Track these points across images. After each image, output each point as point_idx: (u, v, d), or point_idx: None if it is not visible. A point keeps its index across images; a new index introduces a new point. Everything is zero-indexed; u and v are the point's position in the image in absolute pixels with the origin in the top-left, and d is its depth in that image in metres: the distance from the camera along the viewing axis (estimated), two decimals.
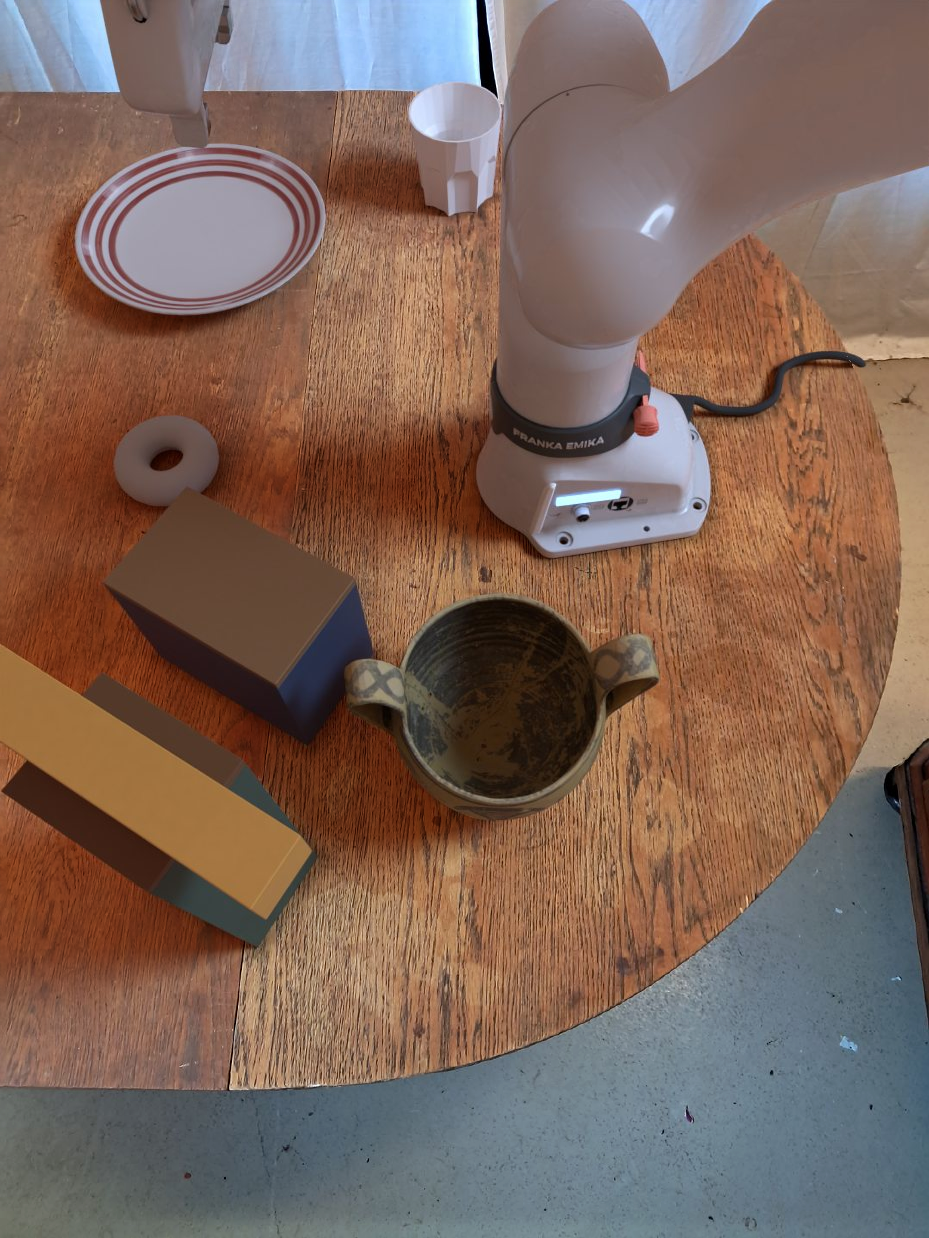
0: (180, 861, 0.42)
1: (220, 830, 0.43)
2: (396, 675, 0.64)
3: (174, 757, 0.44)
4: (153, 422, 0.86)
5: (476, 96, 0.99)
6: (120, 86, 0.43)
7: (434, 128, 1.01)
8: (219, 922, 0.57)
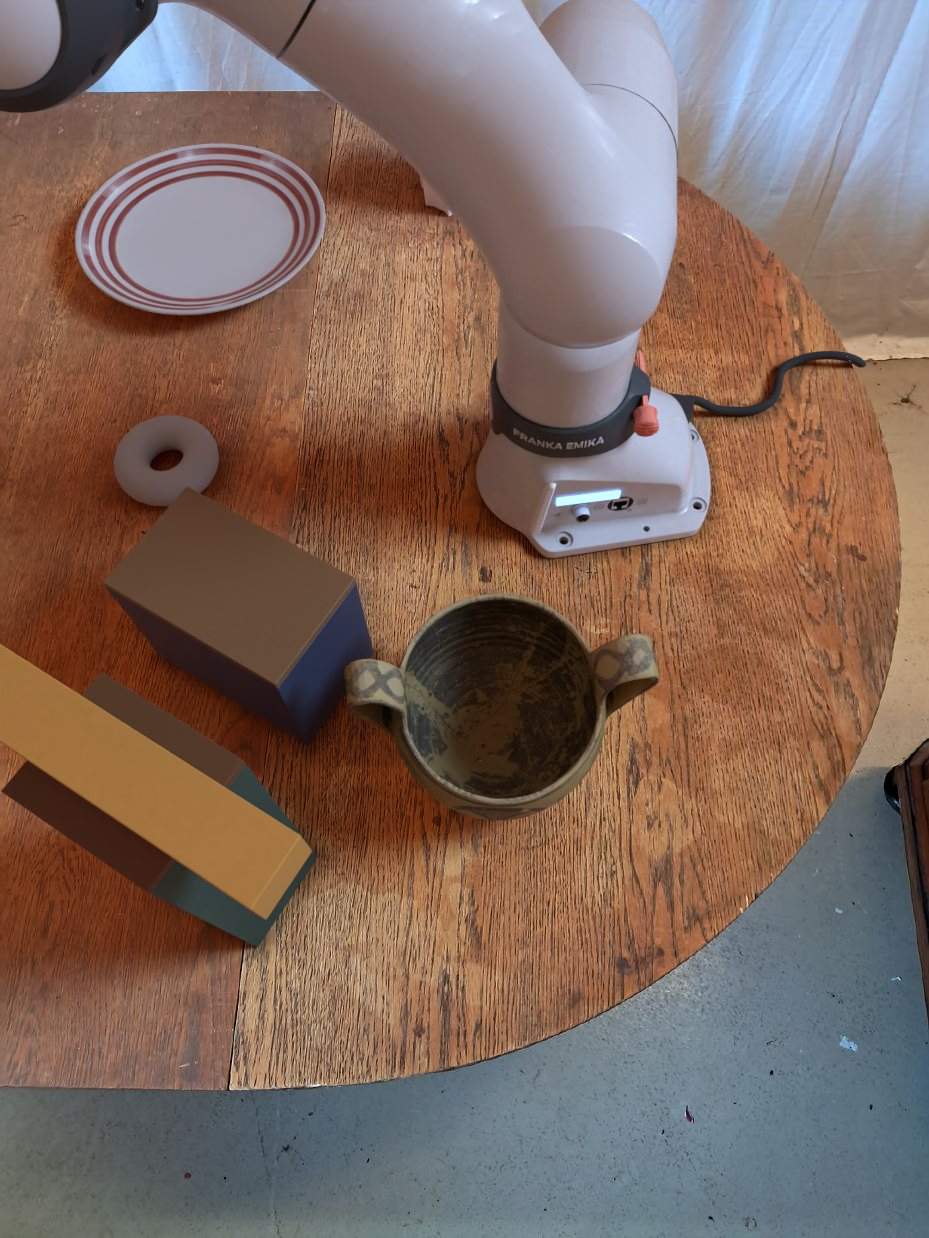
0: (180, 861, 0.42)
1: (220, 830, 0.43)
2: (396, 675, 0.64)
3: (174, 757, 0.44)
4: (153, 422, 0.86)
5: None
6: None
7: None
8: (219, 922, 0.57)
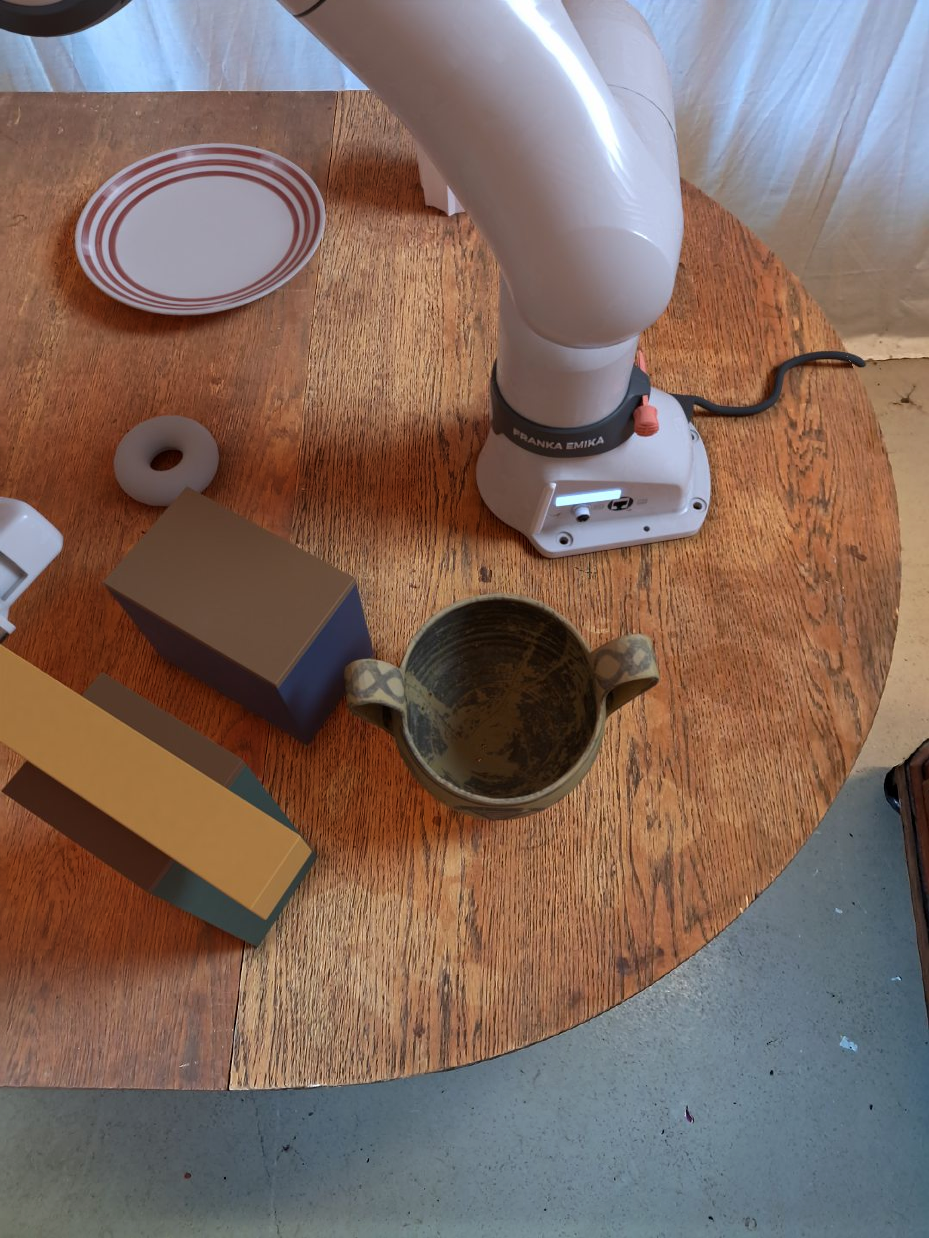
0: (180, 861, 0.42)
1: (220, 831, 0.43)
2: (396, 675, 0.64)
3: (174, 757, 0.44)
4: (153, 422, 0.86)
5: None
6: None
7: None
8: (219, 922, 0.57)
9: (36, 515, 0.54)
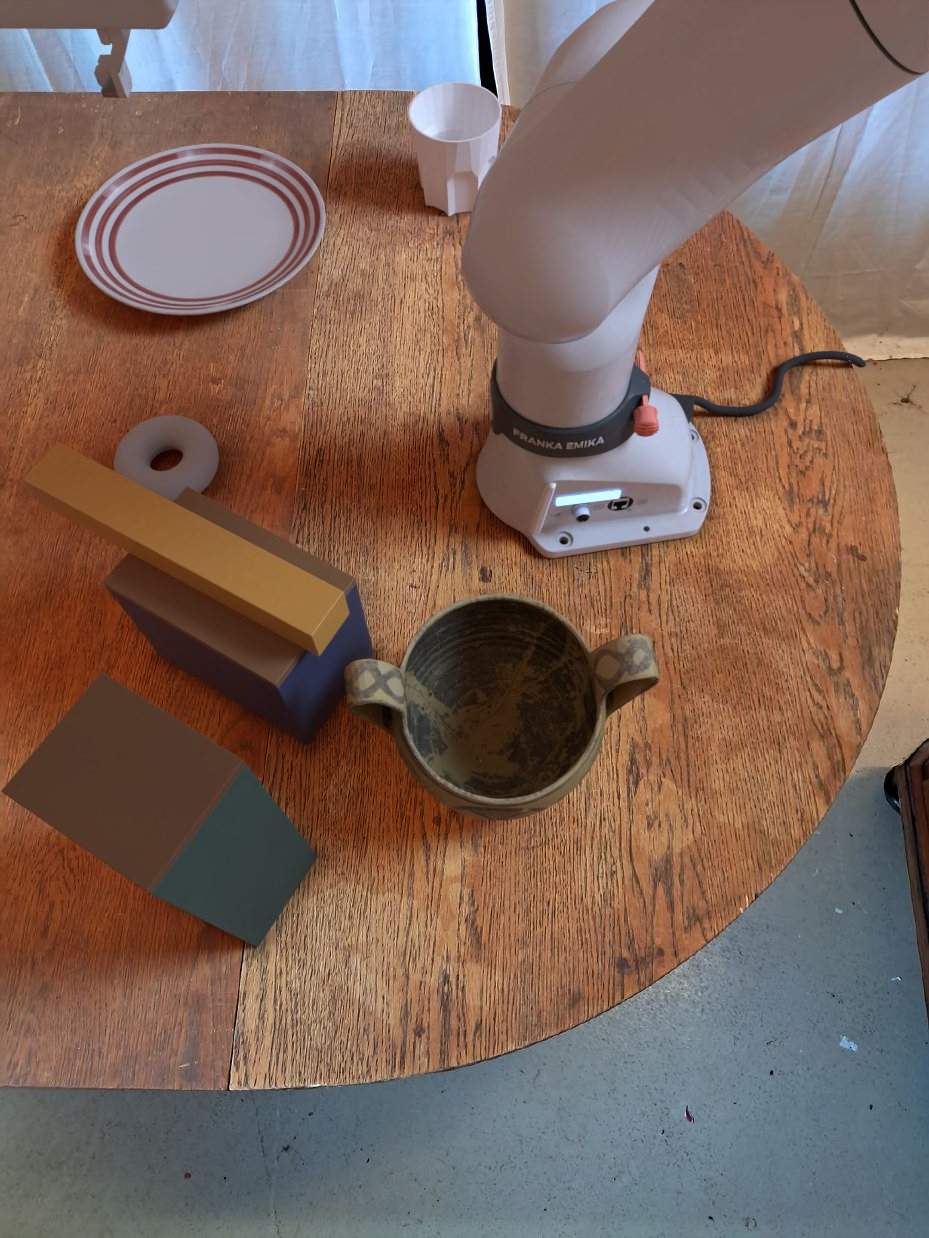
0: (261, 608, 0.61)
1: (288, 589, 0.62)
2: (396, 675, 0.64)
3: (253, 545, 0.64)
4: (153, 422, 0.86)
5: (476, 96, 0.99)
6: None
7: (434, 128, 1.01)
8: (219, 922, 0.57)
9: None
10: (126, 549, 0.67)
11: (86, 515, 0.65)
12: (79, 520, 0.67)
